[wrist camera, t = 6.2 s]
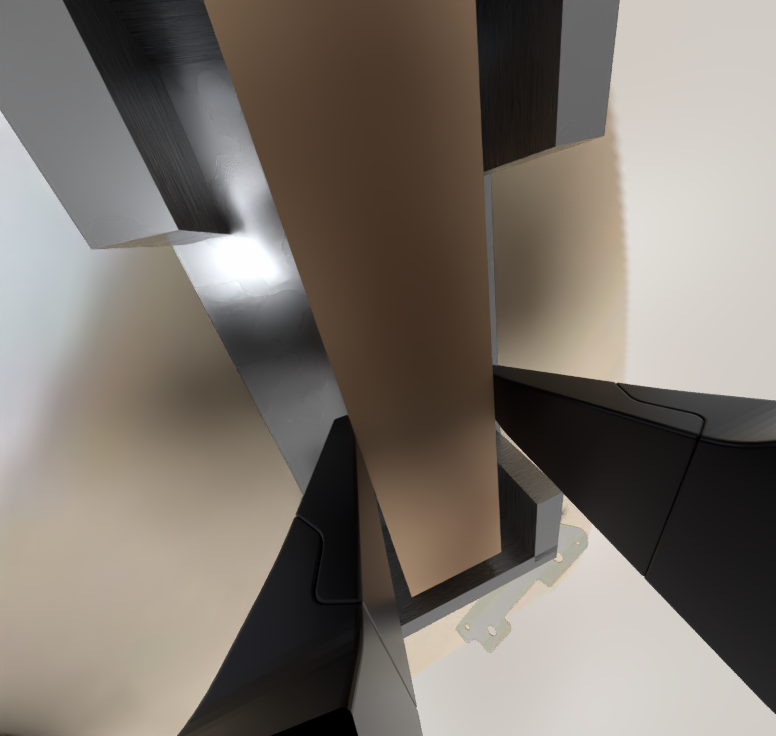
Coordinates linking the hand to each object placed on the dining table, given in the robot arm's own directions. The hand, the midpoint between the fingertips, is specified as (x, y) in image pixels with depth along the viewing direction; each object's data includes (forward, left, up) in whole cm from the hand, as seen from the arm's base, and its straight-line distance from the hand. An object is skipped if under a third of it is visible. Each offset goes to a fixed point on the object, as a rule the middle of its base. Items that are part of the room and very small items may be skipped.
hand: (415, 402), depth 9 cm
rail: (0, 0, -3) cm, 3 cm away
